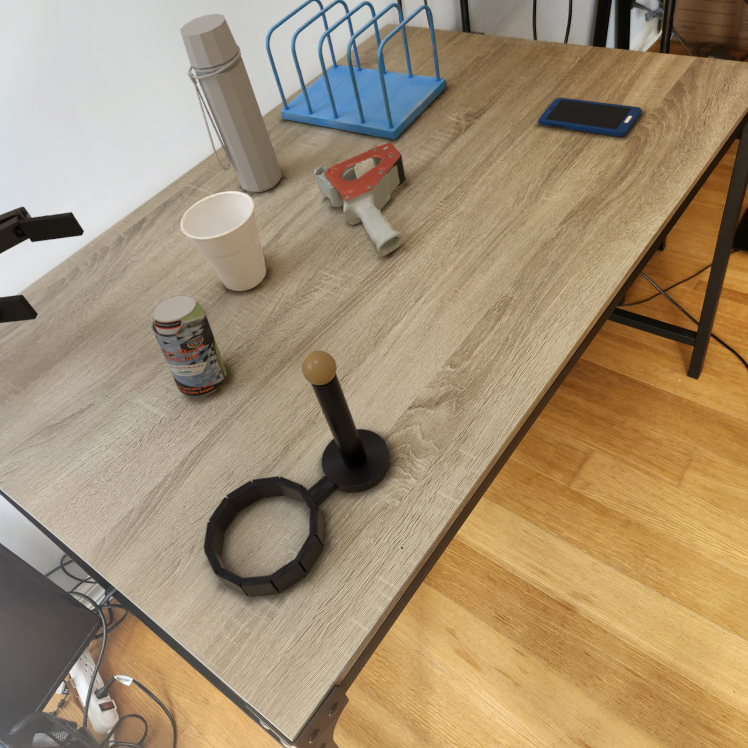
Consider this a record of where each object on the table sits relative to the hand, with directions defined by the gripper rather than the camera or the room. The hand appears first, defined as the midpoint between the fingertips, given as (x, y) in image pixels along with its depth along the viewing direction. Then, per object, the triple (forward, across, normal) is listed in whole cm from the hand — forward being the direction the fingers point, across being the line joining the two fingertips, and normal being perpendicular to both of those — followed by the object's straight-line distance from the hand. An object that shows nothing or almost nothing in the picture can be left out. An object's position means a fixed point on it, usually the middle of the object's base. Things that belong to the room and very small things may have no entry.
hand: (54, 262), depth 69 cm
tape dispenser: (+29, -28, -18) cm, 44 cm away
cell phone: (+63, -45, -18) cm, 79 cm away
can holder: (+25, +20, -19) cm, 37 cm away
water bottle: (+10, -40, -18) cm, 45 cm away
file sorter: (+26, -61, -18) cm, 68 cm away
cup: (+12, -16, -18) cm, 27 cm away
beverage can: (+11, +2, -19) cm, 22 cm away
